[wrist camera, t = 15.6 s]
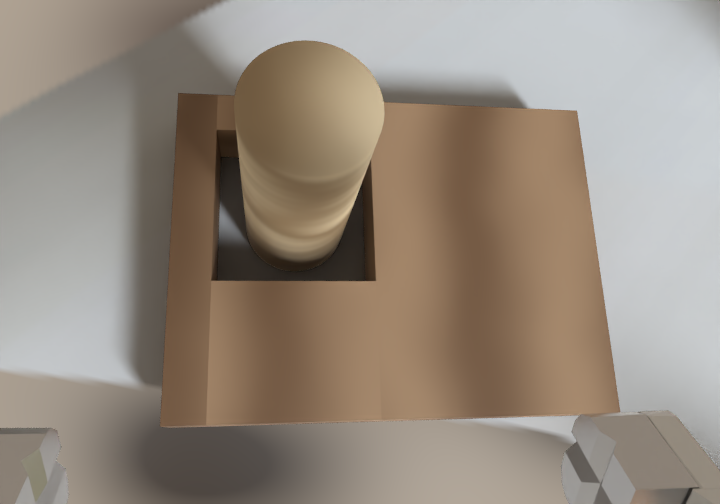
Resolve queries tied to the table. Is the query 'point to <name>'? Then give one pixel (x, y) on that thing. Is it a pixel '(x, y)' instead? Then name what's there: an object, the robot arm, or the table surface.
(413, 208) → the pin board
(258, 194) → the pin
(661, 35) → the table surface
